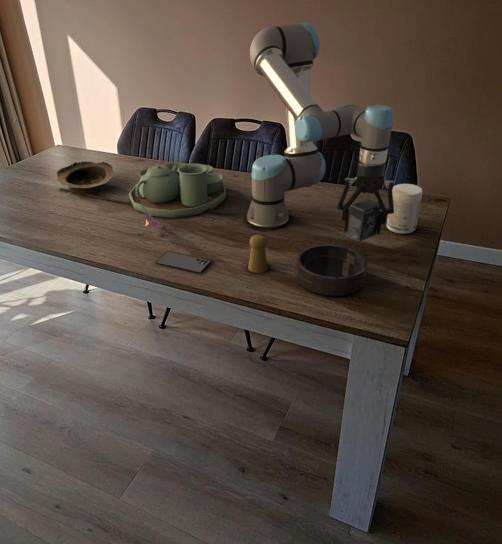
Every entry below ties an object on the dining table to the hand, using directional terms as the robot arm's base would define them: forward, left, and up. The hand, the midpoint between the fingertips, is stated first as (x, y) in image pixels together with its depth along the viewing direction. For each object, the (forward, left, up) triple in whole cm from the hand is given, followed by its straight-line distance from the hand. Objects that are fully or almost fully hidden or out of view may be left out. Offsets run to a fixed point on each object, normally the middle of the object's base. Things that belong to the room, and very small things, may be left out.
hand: (361, 230), depth 157 cm
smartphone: (-54, -17, -8) cm, 57 cm away
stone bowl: (-116, +36, -8) cm, 121 cm away
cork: (-30, -15, -8) cm, 35 cm away
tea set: (-73, +33, -8) cm, 80 cm away
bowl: (-8, -17, -8) cm, 21 cm away
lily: (-72, +1, -8) cm, 72 cm away
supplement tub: (+13, +21, -8) cm, 26 cm away
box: (0, 0, -2) cm, 2 cm away
